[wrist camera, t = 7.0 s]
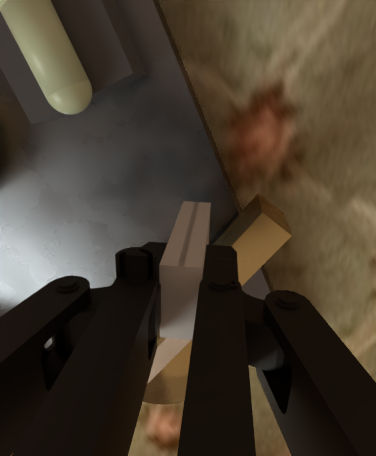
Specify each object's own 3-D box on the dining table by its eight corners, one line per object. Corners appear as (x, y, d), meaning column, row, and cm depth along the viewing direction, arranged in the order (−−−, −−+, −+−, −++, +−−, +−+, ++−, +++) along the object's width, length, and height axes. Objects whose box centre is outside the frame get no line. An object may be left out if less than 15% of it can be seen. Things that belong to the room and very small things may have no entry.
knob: (177, 373, 22) (165, 432, 18) (97, 318, 21) (67, 369, 18) (315, 238, 18) (338, 279, 14) (222, 164, 17) (219, 186, 13)
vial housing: (6, 24, 16) (-60, 5, 13) (100, -33, 15) (57, -71, 11) (61, 128, 18) (17, 140, 14) (151, 85, 17) (128, 85, 13)
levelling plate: (-222, 165, 23) (-262, 172, 21) (138, -48, 16) (126, -65, 15) (-24, 414, 29) (-41, 436, 27) (289, 330, 23) (294, 352, 21)
